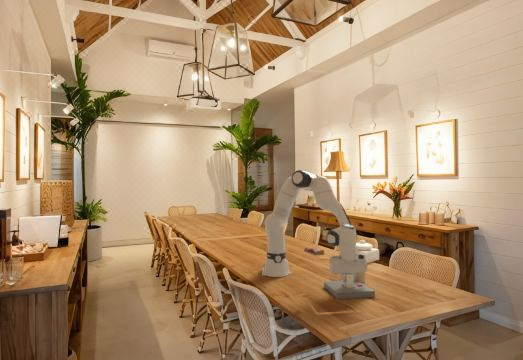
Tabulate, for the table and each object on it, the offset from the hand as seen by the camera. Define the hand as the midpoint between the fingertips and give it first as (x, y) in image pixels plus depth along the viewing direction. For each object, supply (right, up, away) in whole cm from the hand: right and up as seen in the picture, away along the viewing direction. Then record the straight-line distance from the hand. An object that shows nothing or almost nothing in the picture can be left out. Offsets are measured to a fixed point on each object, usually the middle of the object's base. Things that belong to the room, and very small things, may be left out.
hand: (348, 281), depth 185 cm
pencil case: (-4, -7, +96) cm, 96 cm away
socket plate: (0, -6, 0) cm, 6 cm away
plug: (0, -4, +1) cm, 4 cm away
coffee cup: (+10, -6, +19) cm, 22 cm away
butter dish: (+28, -6, +72) cm, 77 cm away
